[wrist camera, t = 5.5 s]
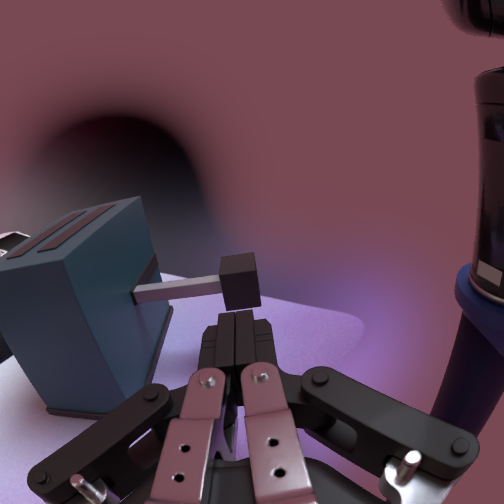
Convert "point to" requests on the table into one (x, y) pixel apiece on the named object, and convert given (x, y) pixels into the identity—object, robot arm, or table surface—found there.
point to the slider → (212, 285)
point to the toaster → (84, 309)
